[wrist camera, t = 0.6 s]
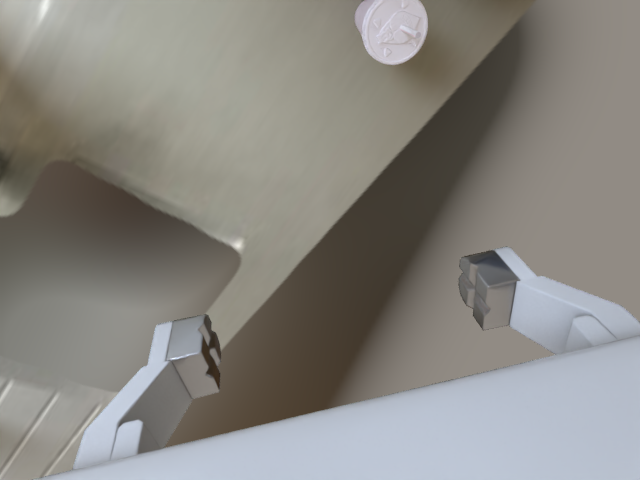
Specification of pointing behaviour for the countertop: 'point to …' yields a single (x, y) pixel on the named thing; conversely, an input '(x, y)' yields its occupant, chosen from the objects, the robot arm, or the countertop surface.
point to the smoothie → (392, 29)
